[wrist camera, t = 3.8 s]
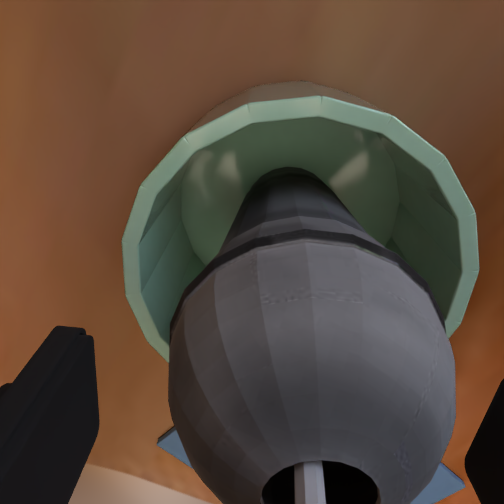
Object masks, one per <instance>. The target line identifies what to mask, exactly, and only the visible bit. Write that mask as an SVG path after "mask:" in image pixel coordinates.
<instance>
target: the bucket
mask: <svg viewBox="0 0 504 504" xmlns="http://www.w3.org/2000/svg"><path fill="white" fill-rule="evenodd" d="M283 167H296V168H303V169H305V170H307V171H309V172H311V173H314V174H315V175H316V176H317V177H318V178H319V179H321V180H322V181H323V182H324V183H325V184H326V185H327V186H328V187H329V188H330V189H331V190H332V191H333V192H334V193H335V194H336V196H337V197H338V198H339V199H340V200H341V202H342V203H343V204H344V205H345V207H346V208H347V209H348V210H349V211H350V213H351V214H352V215H353V216H354V218H355V219H356V220H357V221H358V222H359V224H360V225H361V226H362V227H363V229H364V230H365V231H366V232H367V233H368V235H370V236H371V237H372V238H374V239H375V240H376V241H378V242H379V243H380V244H382V245H383V246H384V247H385V248H386V249H388V250H390V251H393V252H395V253H397V254H398V255H399V256H400V257H401V258H402V259H403V260H404V261H405V262H406V263H407V264H408V265H410V266H411V267H412V268H413V269H414V270H415V271H416V272H417V273H418V274H419V275H420V276H421V277H422V278H423V279H424V280H426V281H427V282H428V285H429V287H430V289H431V291H432V293H433V295H434V297H435V300H436V302H437V304H438V306H439V308H440V310H441V313H442V315H443V317H444V322H445V327H446V335H447V338H448V339H449V338H450V336H451V335H452V334H453V333H454V331H455V330H456V329H457V328H458V327H459V325H460V324H461V323H460V322H462V319H463V316H464V313H465V310H466V308H467V305H468V302H469V299H470V296H471V293H472V290H473V287H474V285H475V282H476V279H477V276H478V273H479V255H478V239H477V223H476V213H475V210H474V208H473V206H472V204H471V202H470V200H469V198H468V197H467V195H466V193H465V191H464V189H463V187H462V185H461V183H460V181H459V180H458V178H457V176H456V174H455V172H454V170H453V168H452V166H451V165H450V163H449V161H448V159H447V158H446V157H445V155H443V154H442V153H441V152H440V151H438V150H437V149H436V148H435V147H433V146H432V145H431V144H429V143H428V142H427V141H426V140H424V139H423V138H422V137H420V136H419V135H418V134H417V133H415V132H414V131H413V130H411V129H410V128H409V127H408V126H406V125H405V124H404V123H402V122H401V121H400V120H399V119H397V118H396V117H395V116H393V115H391V114H389V113H387V112H385V111H383V110H381V109H379V108H377V107H375V106H373V105H371V104H369V103H367V102H365V101H363V100H361V99H360V98H358V97H356V96H354V95H352V94H350V93H348V92H344V91H340V90H337V89H333V88H330V87H327V86H323V85H319V84H315V83H311V82H308V81H302V80H301V81H292V82H280V83H271V84H264V85H257V86H254V87H252V88H250V89H248V90H246V91H244V92H242V93H239V94H238V95H236V96H234V97H232V98H230V99H228V100H227V101H225V102H223V103H221V104H219V105H217V106H215V107H214V108H213V109H211V110H210V111H209V112H208V113H207V114H206V115H205V116H204V117H203V118H202V119H201V120H200V121H199V122H198V123H196V124H195V125H194V126H193V127H192V128H191V129H190V130H189V131H188V132H187V133H186V134H185V135H184V136H183V137H181V139H180V140H179V141H178V142H177V143H176V144H175V145H174V147H173V148H172V149H171V150H170V151H169V152H168V153H167V155H166V156H165V157H164V158H163V159H162V160H161V161H160V163H159V164H158V165H157V166H156V167H155V168H154V169H153V171H152V172H151V173H150V174H149V175H148V176H147V177H146V179H145V180H144V181H143V182H142V183H141V185H140V186H139V189H138V192H137V195H136V198H135V201H134V204H133V207H132V210H131V213H130V216H129V219H128V222H127V225H126V228H125V231H124V234H123V237H122V242H121V243H122V257H123V271H124V285H125V294H126V295H125V296H126V298H127V300H128V302H129V305H130V307H131V309H132V311H133V313H134V315H135V317H136V319H137V321H138V323H139V325H140V328H141V330H142V332H143V334H144V336H145V338H146V340H147V341H148V343H149V344H150V345H151V346H152V347H153V348H154V349H155V350H156V351H157V352H158V353H159V354H160V355H161V356H162V357H163V358H164V359H165V360H166V361H167V362H168V363H169V340H170V322H171V320H172V317H173V315H174V313H175V310H176V308H177V306H178V303H179V301H180V299H181V296H182V294H183V292H184V289H185V288H186V287H187V286H188V285H189V284H190V283H191V282H192V281H193V280H194V279H195V278H196V277H197V276H198V275H199V274H200V273H201V272H202V271H203V270H204V268H205V267H206V266H207V265H208V264H209V262H210V261H211V260H212V259H213V258H214V257H215V256H216V255H217V254H218V253H219V251H220V248H221V246H222V244H223V242H224V240H225V238H226V236H227V234H228V232H229V229H230V227H231V225H232V223H233V221H234V219H235V217H236V215H237V213H238V211H239V208H240V206H241V204H242V202H243V200H244V198H245V196H246V194H247V193H248V192H249V191H250V189H251V186H252V185H253V184H254V183H255V182H256V181H257V180H258V179H259V178H260V177H261V176H262V175H264V174H266V173H268V172H270V171H271V170H273V169H278V168H283Z"/></svg>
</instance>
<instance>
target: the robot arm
mask: <svg viewBox="0 0 504 504" xmlns="http://www.w3.org/2000/svg"><path fill="white" fill-rule="evenodd" d="M98 430H99V408H98V394H97V380H96V367H95V353H94V340H93V337H92V336H90V335H86V331H85V329H83V328H76V327H66V326H56V327H55V328H54V329H53V330H52V331H51V333H50V334H49V335H48V337H47V338H46V339H45V341H44V342H43V343H42V344H41V346H40V347H39V348H38V350H37V351H36V352H35V354H34V355H33V356H32V358H31V359H30V360H29V362H28V363H27V364H26V366H25V367H24V368H23V370H22V371H21V372H20V373H19V375H18V376H17V377H16V379H15V380H14V381H13V383H6V384H4V385H3V386H1V387H0V504H68V502H69V500H70V498H71V496H72V493H73V491H74V488H75V486H76V484H77V482H78V479H79V477H80V474H81V472H82V470H83V468H84V465H85V463H86V461H87V459H88V456H89V454H90V452H91V449H92V447H93V445H94V442H95V440H96V437H97V434H98ZM465 470H466V473H467V476H468V478H469V480H470V482H471V484H472V486H473V488H474V490H475V492H476V494H477V496H478V498H479V500H480V502H481V504H504V379H503V380H502V381H501V383H500V385H499V387H498V390H497V392H496V394H495V396H494V398H493V400H492V402H491V404H490V406H489V408H488V410H487V413H486V415H485V417H484V419H483V421H482V423H481V425H480V427H479V429H478V431H477V433H476V436H475V438H474V440H473V442H472V444H471V446H470V448H469V450H468V452H467V454H466V457H465Z"/></svg>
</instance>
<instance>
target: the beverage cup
mask: <svg viewBox="0 0 504 504" xmlns="http://www.w3.org/2000/svg"><path fill="white" fill-rule="evenodd" d="M168 402H169V407H170V412H171V416H172V420H173V423H174V425H175V428H176V430H177V433H178V435H179V438H180V440H181V443H182V445H183V448H184V450H185V452H186V455H187V457H188V459H189V462H190V464H191V466H192V468H193V469H194V470H195V472H196V473H197V474H198V476H199V477H200V478H201V480H202V481H203V482H204V483H205V485H206V486H207V487H208V488H209V489H210V490H211V491H212V492H213V493H214V494H215V495H216V497H217V498H218V499H219V500H220V501H221V502H222V503H223V504H410V503H411V502H412V501H413V500H414V499H415V498H416V497H417V496H418V495H419V494H420V493H421V492H422V490H423V489H424V488H425V487H426V486H427V485H428V484H429V483H430V482H431V480H432V478H433V476H434V474H435V472H436V470H437V468H438V466H439V464H440V462H441V459H442V457H443V455H444V452H445V450H446V448H447V445H448V443H449V441H450V439H451V436H452V431H453V427H454V423H455V418H456V399H455V360H454V356H453V352H452V348H451V344H450V342H449V340H448V338H447V335H446V327H445V322H444V317H443V315H442V313H441V310H440V308H439V306H438V304H437V302H436V300H435V297H434V295H433V293H432V291H431V289H430V287H429V285H428V282H427V281H426V280H424V279H423V278H422V277H421V276H420V275H419V274H418V273H417V272H416V271H415V270H414V269H413V268H412V267H411V266H410V265H408V264H407V263H406V262H405V261H404V260H403V259H402V258H401V257H400V256H399V255H398V254H397V253H395V252H393V251H390V250H388V249H386V248H385V247H384V246H383V245H382V244H380V243H379V242H378V241H376V240H375V239H374V238H372V237H371V236H370V235H368V233H367V232H366V231H365V230H364V229H363V227H362V226H361V225H360V224H359V222H358V221H357V220H356V219H355V218H354V216H353V215H352V214H351V213H350V211H349V210H348V209H347V208H346V207H345V205H344V204H343V203H342V202H341V200H340V199H339V198H338V197H337V196H336V194H335V193H334V192H333V191H332V190H331V189H330V188H329V187H328V186H327V185H326V184H325V183H324V182H323V181H322V180H321V179H319V178H318V177H317V176H316V175H315V174H314V173H311V172H309V171H307V170H305V169H303V168H296V167H283V168H278V169H273V170H271V171H270V172H268V173H266V174H264V175H262V176H261V177H260V178H259V179H258V180H257V181H256V182H255V183H254V184H253V185H252V186H251V189H250V191H249V192H248V193H247V194H246V196H245V198H244V200H243V202H242V204H241V206H240V208H239V211H238V213H237V215H236V217H235V219H234V221H233V223H232V225H231V227H230V229H229V232H228V234H227V236H226V238H225V240H224V242H223V244H222V246H221V248H220V251H219V253H218V254H217V255H216V256H215V257H214V258H213V259H212V260H211V261H210V262H209V264H208V265H207V266H206V267H205V268H204V270H203V271H202V272H201V273H200V274H199V275H198V276H197V277H196V278H195V279H194V280H193V281H192V282H191V283H190V284H189V285H188V286H187V287H186V288H185V289H184V292H183V294H182V296H181V299H180V301H179V303H178V306H177V308H176V310H175V313H174V315H173V317H172V320H171V322H170V340H169V386H168Z"/></svg>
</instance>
